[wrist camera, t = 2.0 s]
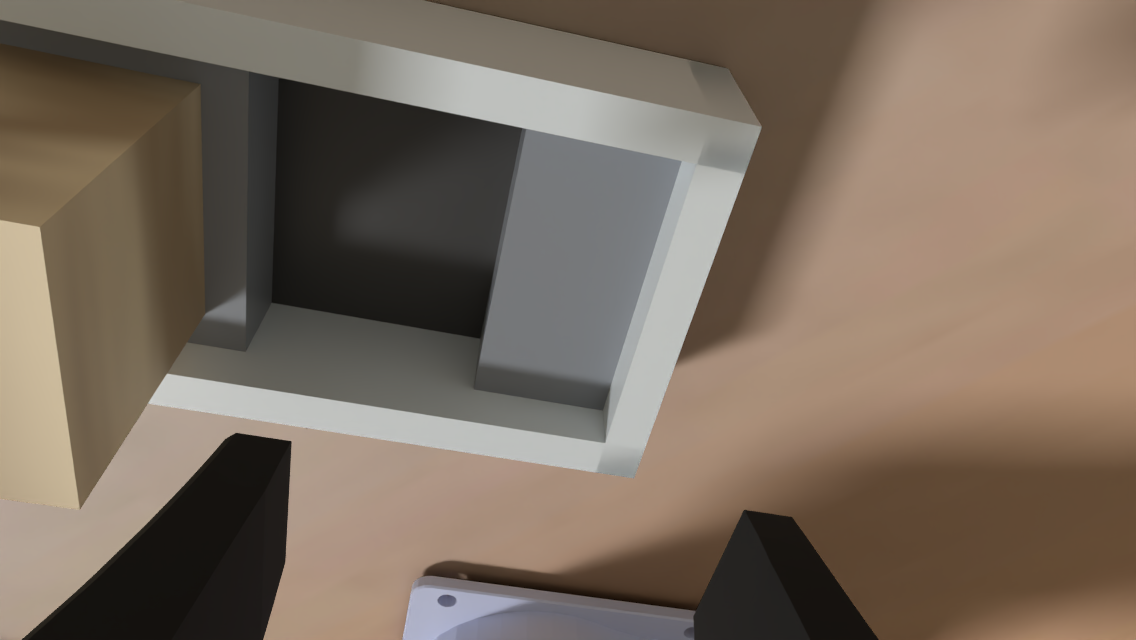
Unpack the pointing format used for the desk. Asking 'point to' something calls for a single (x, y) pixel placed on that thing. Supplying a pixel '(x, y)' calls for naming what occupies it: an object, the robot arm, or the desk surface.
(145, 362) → the maple block
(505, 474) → the desk surface
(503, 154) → the trap channel
